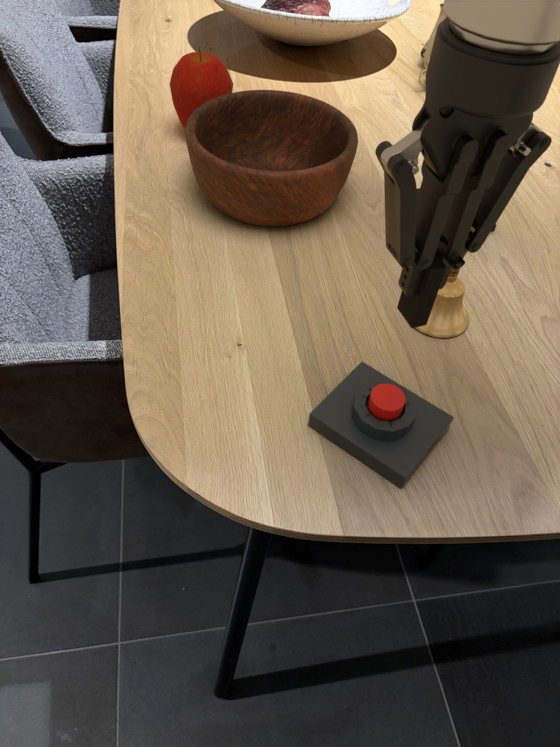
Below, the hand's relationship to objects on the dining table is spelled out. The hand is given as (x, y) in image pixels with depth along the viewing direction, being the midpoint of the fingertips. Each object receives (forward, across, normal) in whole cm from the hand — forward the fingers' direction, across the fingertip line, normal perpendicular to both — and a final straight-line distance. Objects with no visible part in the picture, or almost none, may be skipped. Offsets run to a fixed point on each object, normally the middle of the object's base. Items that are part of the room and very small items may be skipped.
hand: (411, 316), depth 53 cm
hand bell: (+17, -15, -13) cm, 26 cm away
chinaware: (+17, -57, -77) cm, 97 cm away
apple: (+17, 0, -66) cm, 69 cm away
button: (+13, 0, 0) cm, 13 cm away
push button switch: (+17, 0, 0) cm, 17 cm away
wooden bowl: (+17, -4, -46) cm, 49 cm away
